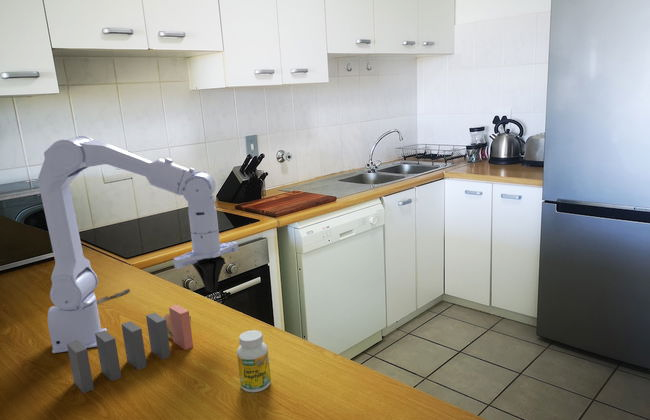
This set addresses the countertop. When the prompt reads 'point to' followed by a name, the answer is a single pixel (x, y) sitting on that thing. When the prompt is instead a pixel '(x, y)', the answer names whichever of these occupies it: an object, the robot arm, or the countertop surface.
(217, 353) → the countertop surface
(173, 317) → the red domino
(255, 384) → the supplement bottle
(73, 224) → the robot arm
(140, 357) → the domino
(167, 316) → the shard
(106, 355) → the domino
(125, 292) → the grey brown bark strip
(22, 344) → the countertop surface
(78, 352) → the domino
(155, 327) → the domino
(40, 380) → the countertop surface
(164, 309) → the countertop surface
